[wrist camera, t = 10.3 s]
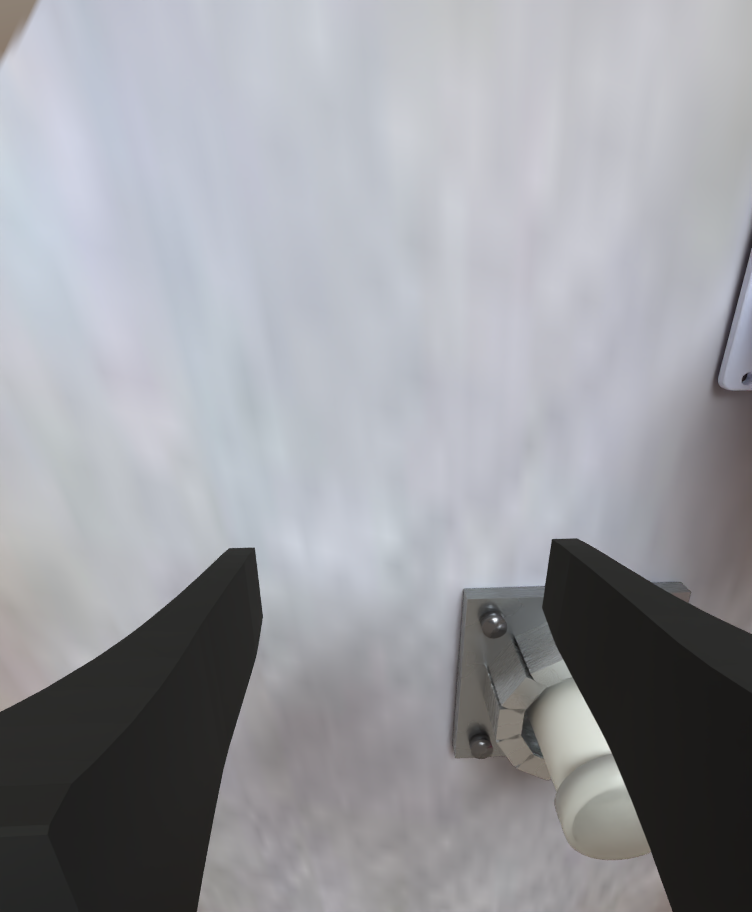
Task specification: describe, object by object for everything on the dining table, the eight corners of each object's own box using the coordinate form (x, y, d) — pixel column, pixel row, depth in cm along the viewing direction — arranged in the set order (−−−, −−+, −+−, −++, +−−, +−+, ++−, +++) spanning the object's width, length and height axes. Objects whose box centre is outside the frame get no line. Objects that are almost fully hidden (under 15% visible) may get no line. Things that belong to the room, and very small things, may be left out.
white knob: (590, 626, 24) (675, 760, 18) (617, 691, 26) (703, 834, 20) (497, 663, 25) (547, 805, 19) (529, 724, 27) (585, 873, 20)
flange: (680, 582, 25) (725, 626, 22) (638, 737, 29) (671, 792, 26) (463, 588, 24) (479, 634, 21) (452, 745, 28) (463, 802, 25)
